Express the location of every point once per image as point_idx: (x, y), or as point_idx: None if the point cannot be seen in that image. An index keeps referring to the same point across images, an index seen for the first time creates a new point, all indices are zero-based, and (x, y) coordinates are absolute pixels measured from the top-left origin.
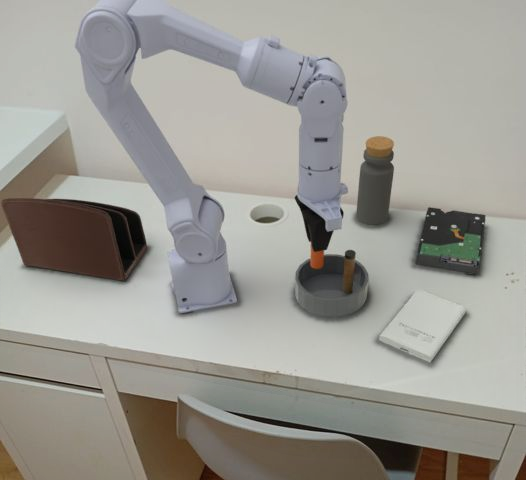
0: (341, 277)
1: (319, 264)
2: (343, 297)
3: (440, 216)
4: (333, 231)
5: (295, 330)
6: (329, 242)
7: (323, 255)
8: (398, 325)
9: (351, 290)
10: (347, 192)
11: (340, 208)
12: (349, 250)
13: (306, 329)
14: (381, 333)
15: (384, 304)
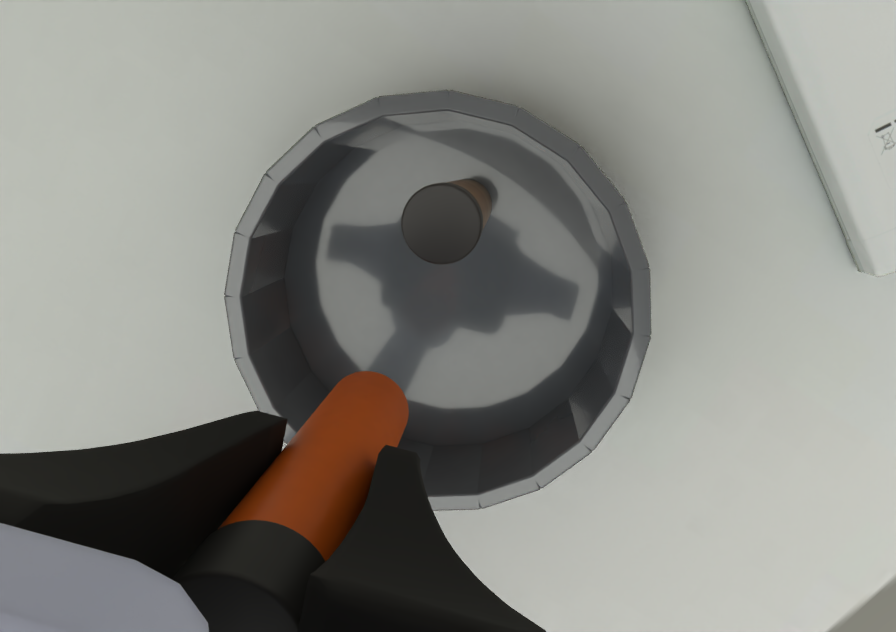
0: (360, 175)
1: (402, 427)
2: (630, 359)
3: None
4: (441, 531)
5: (572, 542)
6: (416, 467)
7: (383, 415)
8: (888, 150)
9: (489, 196)
10: (184, 609)
11: (376, 626)
12: (412, 214)
13: (592, 501)
14: (870, 259)
15: (646, 82)
